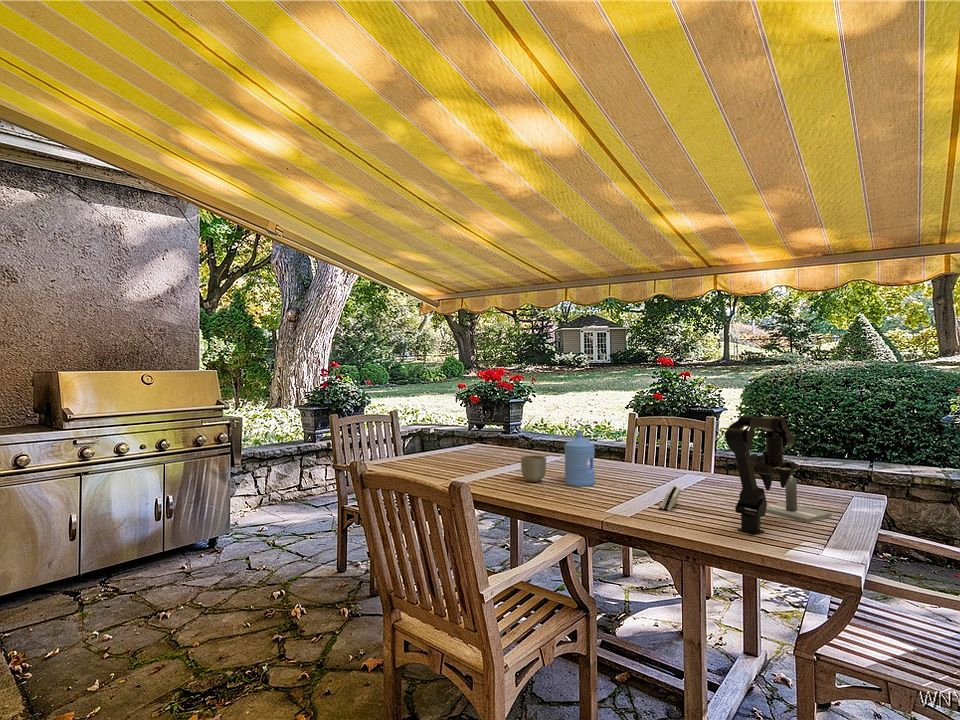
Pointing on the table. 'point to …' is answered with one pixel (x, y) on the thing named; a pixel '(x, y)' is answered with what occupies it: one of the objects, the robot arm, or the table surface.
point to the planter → (533, 467)
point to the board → (797, 512)
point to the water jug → (579, 461)
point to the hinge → (670, 498)
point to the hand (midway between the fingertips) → (775, 489)
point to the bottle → (791, 494)
